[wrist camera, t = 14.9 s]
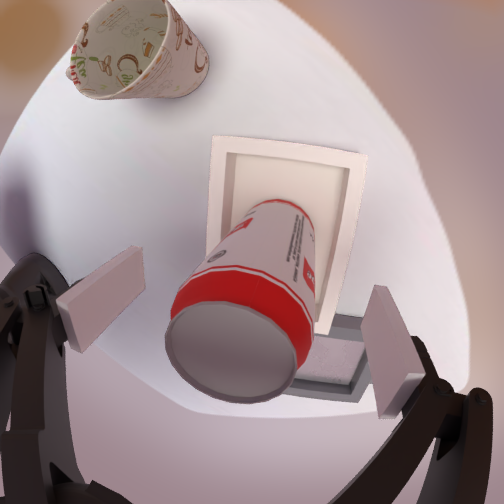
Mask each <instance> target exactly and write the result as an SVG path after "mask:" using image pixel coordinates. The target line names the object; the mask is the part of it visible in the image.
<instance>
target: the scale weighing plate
mask: <svg viewBox="0 0 504 504" xmlns="http://www.w3.org/2000/svg"><path fill="white" fill-rule="evenodd" d="M364 349H365V344H364V342H357V341H349V340H341V339H334V338H327V337H320V336H314V340H313V343H312V346H311V349H310V351H309V354H308V357H307V359H306V361H305V363H304V364H303V365H302V366H301V367H300V368H299V369H298V370H297V372H296V375H295V377H294V378H298V379H305V380H312V381H319V382H328V383H336V384H346V385H349V383H350V381H351V378H352V376H353V374H354V372H355V370H356V368H357V365H358V363H359V361H360V359H361V356H362V354H363V352H364Z"/></svg>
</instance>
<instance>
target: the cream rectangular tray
mask: <svg viewBox="0 0 504 504" xmlns="http://www.w3.org/2000/svg"><path fill="white" fill-rule="evenodd" d="M367 162H368V155H363V154H358V153H353V152H348V151H343V150H338V149H332V148H326V147H320V146H313V145H307V144H300V143H292V142H284V141H276V140H267V139H256V138H245V137H231V136H214V135H213V136H212V149H211V162H210V177H209V193H208V211H207V233H206V257H207V256H208V255H209V254H210V253H211V252H212V251H213V250H214V249H215V247H216V246H217V245H218V244H219V243H220V242H221V241H222V240H223V239H224V238H225V236H226V235H227V234H228V233H229V232H230V231H231V230H232V229H233V228H234V227H235V226H236V225H237V223H238V222H239V221H240V220H241V219H242V218H243V217H244V216H245V215H246V214H247V213H248V212H249V211H250V210H251V209H252V208H253V207H254V206H255V205H257V204H259V203H262V202H264V201H266V200H274V199H280V200H285V201H290V202H292V203H294V204H295V205H297V206H299V207H301V208H302V210H303V211H304V212H305V213H306V214H307V215H308V216H309V218H310V220H311V222H312V225H313V227H314V235H315V327H314V333H318V334H325V335H328V334H329V330H330V327H331V324H332V321H333V317H334V314H335V310H336V307H337V303H338V300H339V296H340V292H341V289H342V285H343V281H344V277H345V273H346V269H347V265H348V261H349V257H350V252H351V248H352V244H353V239H354V234H355V230H356V225H357V220H358V215H359V210H360V204H361V199H362V193H363V187H364V181H365V175H366V169H367Z"/></svg>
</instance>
